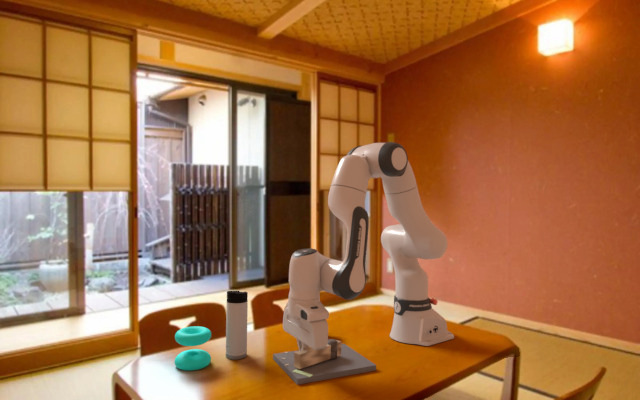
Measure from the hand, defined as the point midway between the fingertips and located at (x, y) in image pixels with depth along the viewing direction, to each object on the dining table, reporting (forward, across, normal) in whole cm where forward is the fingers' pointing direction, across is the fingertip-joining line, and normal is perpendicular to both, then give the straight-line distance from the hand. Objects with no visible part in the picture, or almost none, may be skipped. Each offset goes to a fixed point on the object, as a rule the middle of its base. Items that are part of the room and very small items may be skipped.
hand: (303, 355), depth 126 cm
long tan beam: (+2, +2, +4) cm, 5 cm away
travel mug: (+4, -18, -14) cm, 22 cm away
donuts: (+4, -17, -27) cm, 32 cm away
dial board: (+4, 0, +6) cm, 7 cm away
